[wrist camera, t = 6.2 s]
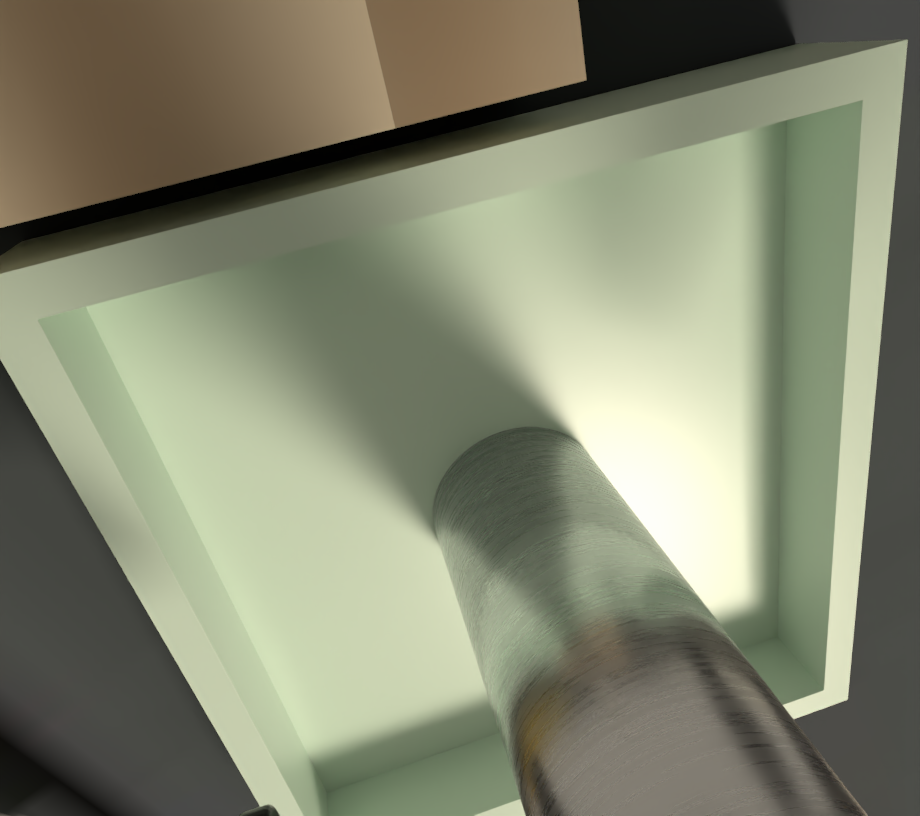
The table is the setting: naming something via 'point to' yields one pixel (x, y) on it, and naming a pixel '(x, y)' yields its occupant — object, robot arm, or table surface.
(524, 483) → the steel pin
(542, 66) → the block
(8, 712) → the table surface
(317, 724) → the tray
